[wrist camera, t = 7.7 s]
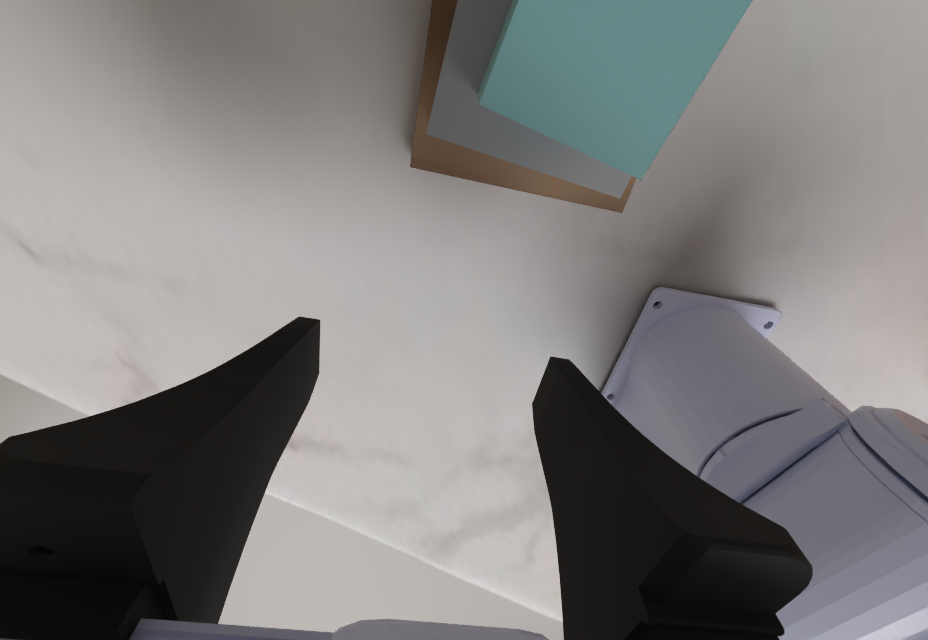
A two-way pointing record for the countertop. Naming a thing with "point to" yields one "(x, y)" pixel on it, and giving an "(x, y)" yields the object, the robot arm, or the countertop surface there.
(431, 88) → the walnut slab
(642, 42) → the teal block
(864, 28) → the countertop surface
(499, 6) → the gray square slab
